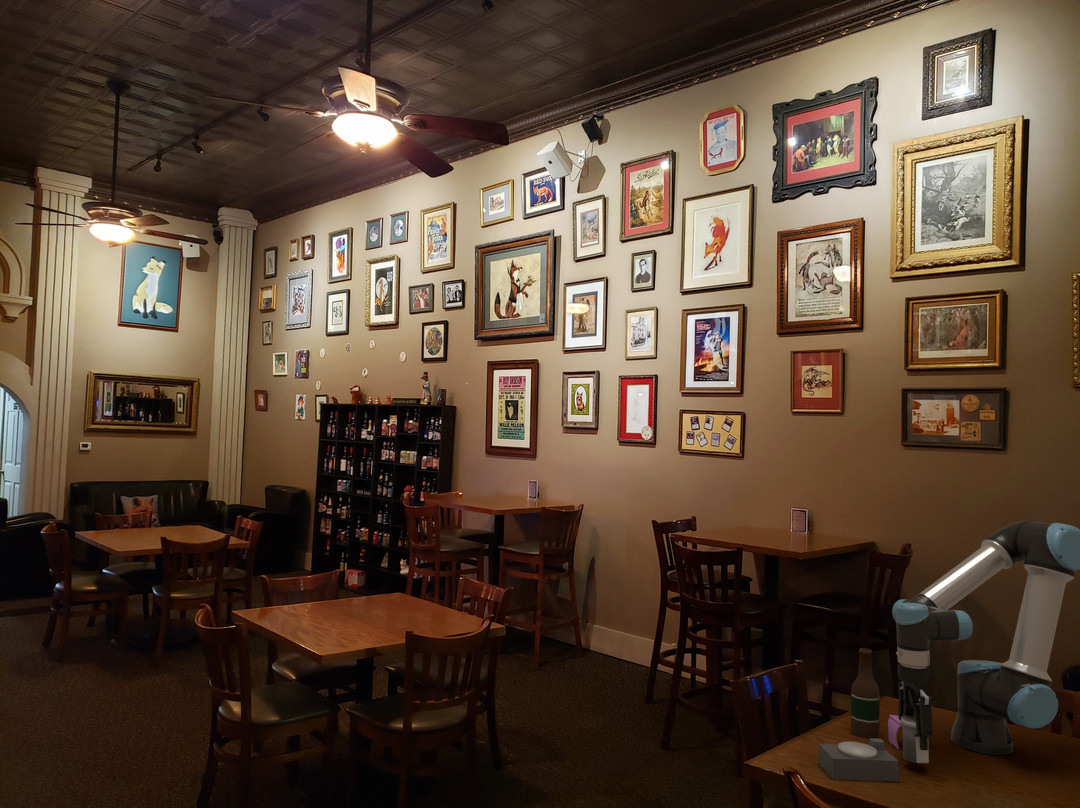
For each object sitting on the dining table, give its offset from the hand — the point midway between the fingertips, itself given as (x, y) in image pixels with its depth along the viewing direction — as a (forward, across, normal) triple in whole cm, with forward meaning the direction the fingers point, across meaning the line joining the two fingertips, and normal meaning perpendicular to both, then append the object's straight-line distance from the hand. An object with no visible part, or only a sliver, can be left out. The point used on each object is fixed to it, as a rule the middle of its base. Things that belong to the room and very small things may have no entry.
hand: (916, 756), depth 197 cm
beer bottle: (+3, -25, -3) cm, 25 cm away
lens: (0, 0, 0) cm, 0 cm away
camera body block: (+2, +4, -17) cm, 17 cm away
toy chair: (+3, -16, +5) cm, 17 cm away
